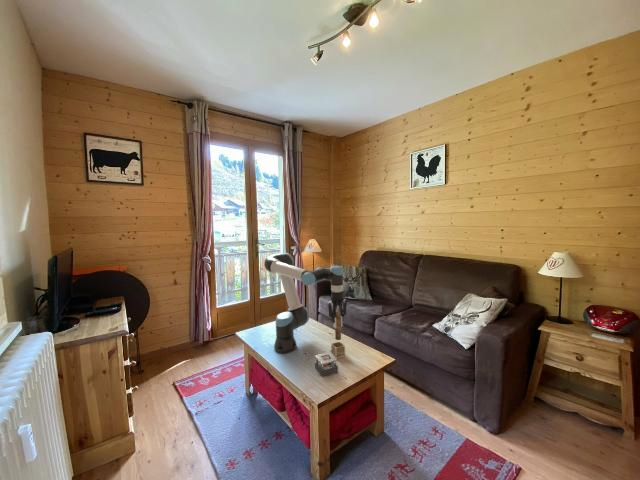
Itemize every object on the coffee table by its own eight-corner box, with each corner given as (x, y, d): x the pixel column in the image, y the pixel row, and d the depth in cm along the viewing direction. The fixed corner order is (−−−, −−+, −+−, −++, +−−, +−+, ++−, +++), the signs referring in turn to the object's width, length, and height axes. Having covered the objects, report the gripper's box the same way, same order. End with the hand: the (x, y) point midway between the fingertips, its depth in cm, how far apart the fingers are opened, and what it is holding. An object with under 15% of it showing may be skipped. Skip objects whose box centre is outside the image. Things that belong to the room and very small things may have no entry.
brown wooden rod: (334, 338, 174) (333, 311, 172) (339, 336, 175) (338, 310, 173) (337, 340, 171) (336, 312, 169) (342, 339, 172) (341, 311, 170)
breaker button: (322, 366, 158) (322, 363, 158) (327, 364, 160) (327, 361, 159) (324, 368, 156) (324, 365, 155) (329, 367, 157) (329, 364, 157)
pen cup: (331, 353, 176) (331, 343, 175) (340, 351, 179) (340, 341, 178) (335, 358, 170) (335, 348, 169) (345, 356, 173) (345, 345, 172)
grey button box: (315, 367, 160) (314, 355, 160) (330, 363, 164) (330, 351, 164) (321, 377, 151) (321, 364, 150) (337, 372, 155) (337, 359, 154)
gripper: (327, 294, 163) (328, 331, 165) (351, 290, 169) (352, 326, 172) (322, 291, 170) (323, 327, 172) (345, 287, 176) (346, 322, 179)
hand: (337, 326), depth 172 cm, fingers closed on brown wooden rod, 3 cm apart
